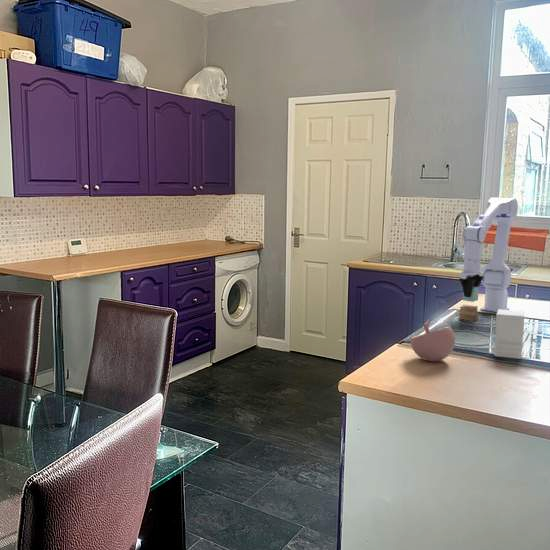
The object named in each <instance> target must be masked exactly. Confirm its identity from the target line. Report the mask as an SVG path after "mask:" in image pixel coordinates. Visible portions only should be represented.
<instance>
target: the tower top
mask: <svg viewBox="0 0 550 550" xmlns="http://www.w3.org/2000/svg"><path fill="white" fill-rule="evenodd" d="M478 307H479V306H478V305H472V304H463V305H461V306H460V307H459V313H460V314H468V315H475V314H476V313H478Z"/></svg>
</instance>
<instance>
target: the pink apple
mask: <svg viewBox="0 0 550 550" xmlns="http://www.w3.org/2000/svg"><path fill="white" fill-rule="evenodd" d="M425 321H426V322H424V323H423V329H424V332H425V333H424V334H420V335H413V336H412V337H410V338H409V339H410V340H409V341H410V346H411V348H412V350H413V352H414V353H415V354H416V355H417V357H419V358H420V359H423V360H425V361H427V362H440V361H442V360H445V359H446V358H447V357H449V356H450V355H451V353H452V352H453V350H454V348H455V343H456V336H455V333H454V331H453V328H452V327H451V326H450V325H448V326H445V327H442V328H439V329H437V330H433V331H431V330H430V328H429V326H430V324H431V320H430V319H427V320H425Z"/></svg>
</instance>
